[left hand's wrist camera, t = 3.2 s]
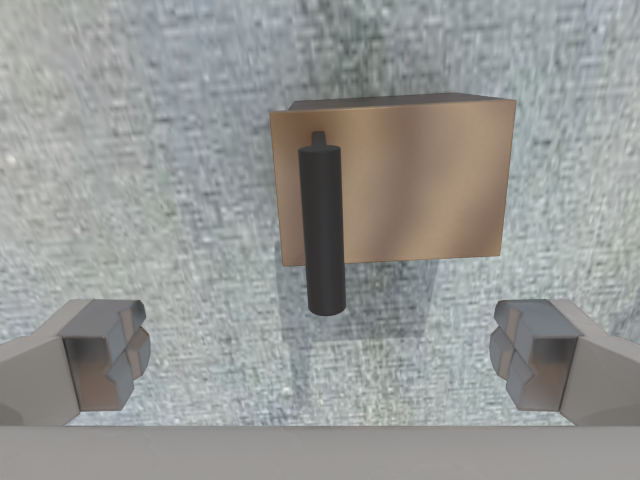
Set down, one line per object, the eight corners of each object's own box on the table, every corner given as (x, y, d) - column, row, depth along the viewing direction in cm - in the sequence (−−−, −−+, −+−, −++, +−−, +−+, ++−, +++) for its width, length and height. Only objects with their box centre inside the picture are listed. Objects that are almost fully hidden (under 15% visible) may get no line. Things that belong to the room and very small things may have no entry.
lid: (284, 259, 28) (270, 337, 20) (271, 111, 25) (248, 129, 17) (493, 249, 28) (569, 323, 20) (508, 99, 25) (606, 110, 17)
